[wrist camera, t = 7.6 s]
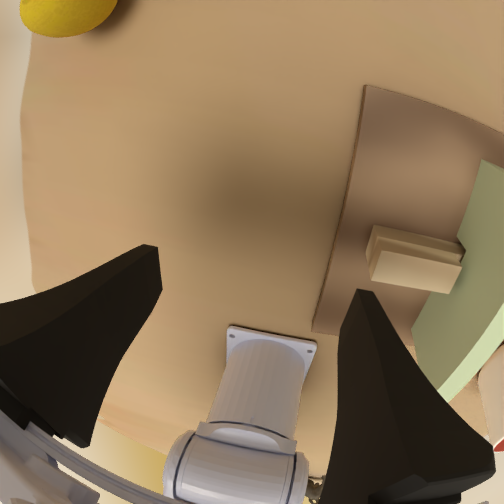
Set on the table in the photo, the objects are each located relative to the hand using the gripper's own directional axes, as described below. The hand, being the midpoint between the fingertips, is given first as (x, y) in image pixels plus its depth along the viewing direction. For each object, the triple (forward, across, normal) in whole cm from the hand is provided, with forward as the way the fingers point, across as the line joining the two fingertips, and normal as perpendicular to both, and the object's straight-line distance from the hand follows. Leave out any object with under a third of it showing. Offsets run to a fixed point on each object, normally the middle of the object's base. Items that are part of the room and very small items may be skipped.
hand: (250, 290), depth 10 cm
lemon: (+10, +14, -13) cm, 21 cm away
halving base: (+9, -13, +1) cm, 16 cm away
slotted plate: (+8, -13, +1) cm, 15 cm away
